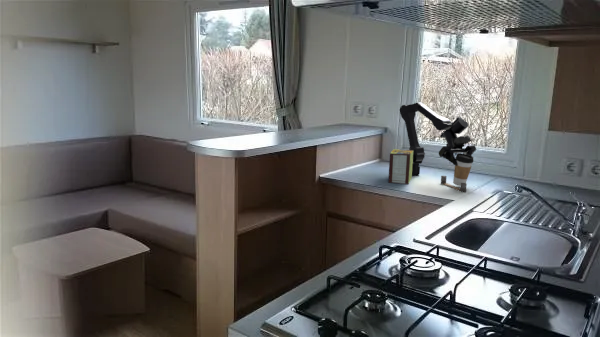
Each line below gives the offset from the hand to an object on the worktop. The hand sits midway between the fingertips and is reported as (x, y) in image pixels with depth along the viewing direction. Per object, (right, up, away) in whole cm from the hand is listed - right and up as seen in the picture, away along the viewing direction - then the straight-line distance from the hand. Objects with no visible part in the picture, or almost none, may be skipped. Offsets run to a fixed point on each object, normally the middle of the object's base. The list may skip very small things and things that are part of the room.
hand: (463, 165), depth 226 cm
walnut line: (-5, -11, +2) cm, 12 cm away
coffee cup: (-1, -10, +4) cm, 10 cm away
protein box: (-28, -8, +16) cm, 33 cm away
